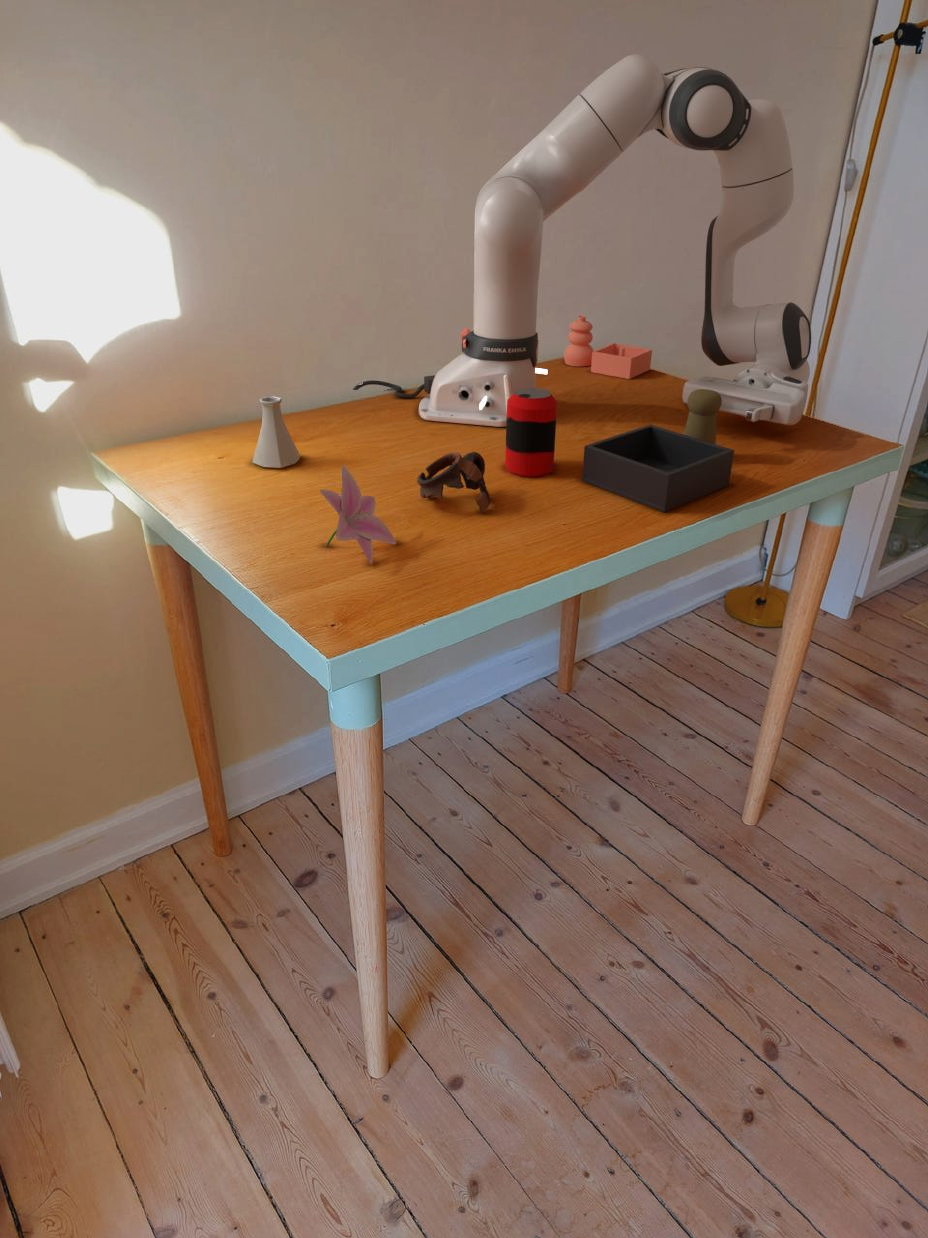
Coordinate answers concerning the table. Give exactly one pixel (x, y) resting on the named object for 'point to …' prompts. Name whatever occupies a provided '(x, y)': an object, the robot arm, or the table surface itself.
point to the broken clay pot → (456, 476)
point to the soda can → (530, 432)
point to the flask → (274, 437)
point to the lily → (357, 516)
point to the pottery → (604, 354)
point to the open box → (657, 467)
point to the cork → (703, 414)
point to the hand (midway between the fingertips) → (723, 410)
